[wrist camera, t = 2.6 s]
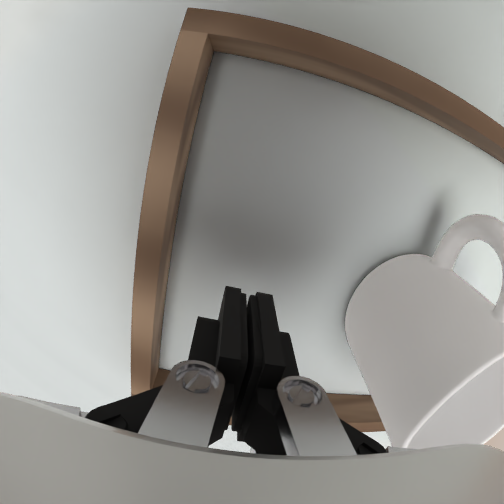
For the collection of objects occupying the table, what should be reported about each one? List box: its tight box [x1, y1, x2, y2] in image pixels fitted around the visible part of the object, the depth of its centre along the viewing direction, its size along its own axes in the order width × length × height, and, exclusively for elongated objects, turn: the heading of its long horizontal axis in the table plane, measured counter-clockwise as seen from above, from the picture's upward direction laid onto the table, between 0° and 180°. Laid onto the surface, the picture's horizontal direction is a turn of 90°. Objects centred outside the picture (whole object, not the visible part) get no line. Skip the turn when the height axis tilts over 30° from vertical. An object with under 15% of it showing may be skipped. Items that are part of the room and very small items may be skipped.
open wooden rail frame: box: [131, 8, 504, 432], centre depth 16 cm, size 22×24×3 cm
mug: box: [345, 214, 504, 449], centre depth 13 cm, size 12×8×10 cm
